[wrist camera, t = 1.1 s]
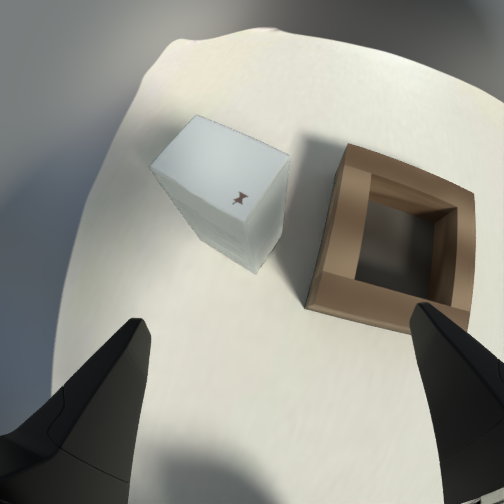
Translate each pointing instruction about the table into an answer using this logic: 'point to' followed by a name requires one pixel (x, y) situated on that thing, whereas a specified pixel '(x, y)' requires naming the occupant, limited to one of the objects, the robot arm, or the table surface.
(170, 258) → the table surface
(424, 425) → the table surface
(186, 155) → the skincare box
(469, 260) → the socket block
